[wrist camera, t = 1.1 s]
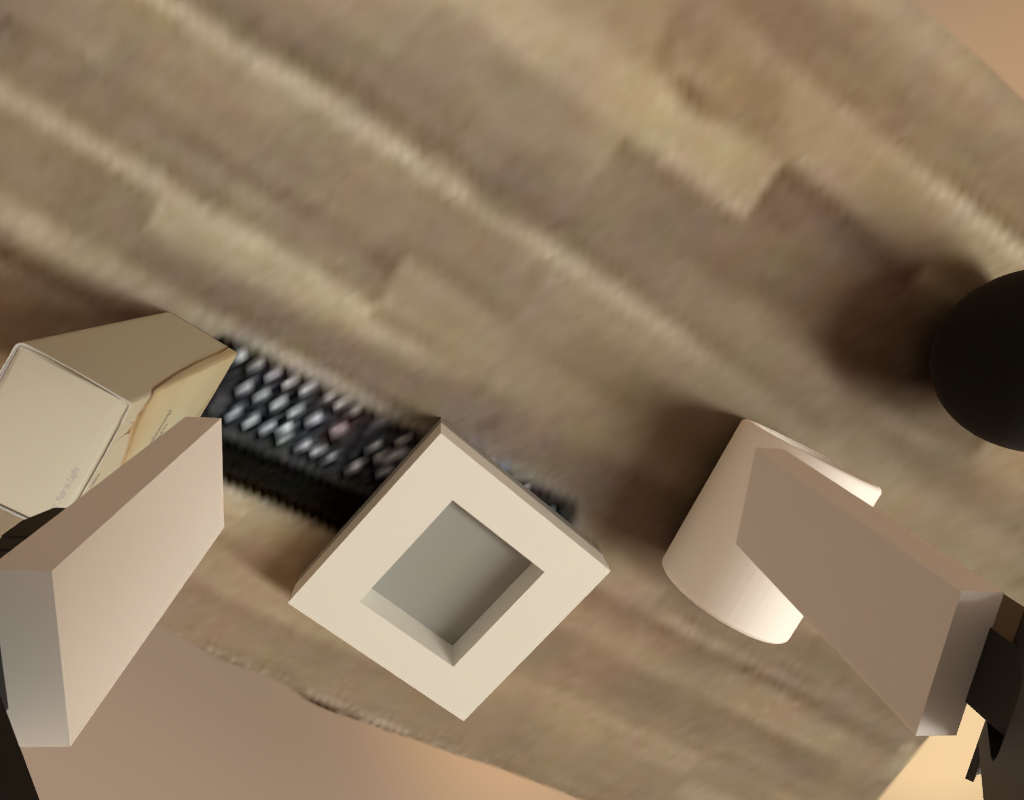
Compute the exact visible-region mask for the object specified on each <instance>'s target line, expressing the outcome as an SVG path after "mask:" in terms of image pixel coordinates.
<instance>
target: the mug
mask: <svg viewBox="0 0 1024 800" xmlns="http://www.w3.org/2000/svg"><path fill="white" fill-rule="evenodd" d="M756 448H775V449H784V450H786V451H787V452H789V453H790V454H792V455H793V456H795V457H797V458H798V459H800V460H801V461H803V462H804V463H806V464H807V465H809V466H810V467H812V468H813V469H815V470H817V471H818V472H820V473H821V474H823V475H824V476H826V477H827V478H829V479H830V480H832V481H834V482H835V483H837V484H838V485H840V486H841V487H843V488H844V489H846V490H847V491H849V492H851V493H852V494H854V495H855V496H857V497H858V498H860V499H861V500H863V501H864V502H866V503H868V504H869V505H871V506H872V507H873V506H874V504H875V503H876V501H877V499H878V498H879V496H880V495H881V489H880V487H879V486H877V485H876V484H874V483H873V482H871V481H869V480H868V479H866V478H864V477H862V476H861V475H859V474H857V473H855V472H854V471H852V470H850V469H848V468H846V467H844V466H843V465H841V464H839V463H837V462H835V461H833V460H831V459H829V458H828V457H826V456H824V455H822V454H820V453H818V452H816V451H814V450H812V449H810V448H808V447H806V446H804V445H802V444H800V443H798V442H796V441H794V440H792V439H790V438H788V437H786V436H784V435H782V434H780V433H778V432H776V431H774V430H772V429H770V428H768V427H766V426H763V425H761V424H759V423H757V422H754V421H752V420H749V419H743V420H742V421H741V422H740V424H739V426H738V428H737V429H736V431H735V433H734V435H733V436H732V438H731V440H730V442H729V443H728V445H727V447H726V449H725V450H724V452H723V454H722V456H721V457H720V459H719V461H718V463H717V464H716V466H715V468H714V469H713V471H712V473H711V475H710V476H709V478H708V480H707V482H706V483H705V485H704V487H703V489H702V490H701V492H700V494H699V496H698V497H697V499H696V501H695V503H694V504H693V506H692V508H691V510H690V511H689V513H688V515H687V517H686V518H685V520H684V522H683V524H682V525H681V527H680V529H679V531H678V532H677V534H676V536H675V538H674V539H673V541H672V543H671V545H670V546H669V548H668V550H667V552H666V553H665V555H664V557H663V559H662V565H663V568H664V571H665V573H666V574H667V576H668V577H669V579H670V580H671V581H672V582H673V583H674V585H675V586H676V587H677V588H678V589H679V590H680V591H681V592H682V593H683V594H684V595H686V596H687V597H688V598H689V599H690V600H691V601H693V602H694V603H695V604H696V605H698V606H699V607H700V608H702V609H703V610H704V611H706V612H707V613H709V614H710V615H712V616H713V617H715V618H716V619H718V620H719V621H721V622H723V623H724V624H726V625H728V626H729V627H731V628H733V629H735V630H737V631H739V632H741V633H743V634H745V635H747V636H750V637H752V638H755V639H757V640H760V641H763V642H767V643H773V644H781V643H784V642H786V641H788V640H789V638H790V637H791V635H792V634H793V632H794V630H795V629H796V627H797V626H798V624H799V623H800V621H801V619H802V618H803V615H802V614H801V613H800V612H799V611H798V610H797V609H796V608H795V607H794V605H793V604H792V603H791V602H790V601H789V600H788V599H787V598H786V597H785V596H784V595H783V594H782V593H781V592H780V590H779V589H778V588H777V587H776V586H775V585H774V584H773V583H772V582H771V581H770V580H769V579H768V578H767V577H766V576H765V574H764V573H763V572H762V571H761V570H760V569H759V568H758V567H757V566H756V565H755V564H754V563H753V562H752V561H751V560H750V558H749V557H748V556H747V555H746V554H745V553H744V552H743V551H742V550H741V549H740V548H739V547H738V546H737V545H736V541H737V536H738V531H739V526H740V521H741V516H742V512H743V507H744V502H745V497H746V492H747V487H748V483H749V478H750V473H751V468H752V463H753V458H754V454H755V449H756Z"/></svg>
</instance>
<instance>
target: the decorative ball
mask: <svg viewBox="0 0 1024 800" xmlns="http://www.w3.org/2000/svg"><path fill="white" fill-rule="evenodd" d="M929 365H930V375H931V380H932V384H933V387H934V390H935V392H936V394H937V397H938V399H939V400H940V402H941V404H942V405H943V407H944V408H945V409H946V411H947V412H948V413H949V414H950V415H951V416H952V418H954V419H955V420H956V421H957V422H958V423H959V424H960V425H961V426H962V427H964V428H965V429H967V430H968V431H970V432H971V433H973V434H974V435H976V436H978V437H980V438H982V439H984V440H986V441H988V442H990V443H993V444H996V445H998V446H1001V447H1005V448H1008V449H1012V450H1017V451H1022V452H1024V270H1021V271H1017V272H1013V273H1010V274H1007V275H1004V276H1001V277H999V278H996V279H994V280H992V281H990V282H988V283H986V284H984V285H982V286H980V287H978V288H977V289H975V290H974V291H972V292H971V293H969V294H968V295H967V296H966V297H964V298H963V299H962V300H961V301H960V302H958V303H957V304H956V305H955V307H954V308H953V309H952V310H951V311H950V312H949V313H948V315H947V316H946V317H945V319H944V320H943V322H942V323H941V325H940V327H939V328H938V330H937V332H936V335H935V337H934V340H933V343H932V347H931V352H930V364H929Z"/></svg>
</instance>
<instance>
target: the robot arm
mask: <svg viewBox="0 0 1024 800" xmlns="http://www.w3.org/2000/svg"><path fill="white" fill-rule="evenodd" d="M223 528H224V510H223V471H222V432H221V418H205V417H187V416H186V417H184V418H183V419H182V420H181V421H179V422H178V423H177V424H175V425H174V426H173V427H171V428H170V429H169V430H168V431H166V432H165V433H164V434H162V435H161V436H160V437H158V438H157V439H156V440H154V441H153V442H152V443H151V444H149V445H148V446H147V447H145V448H144V449H143V450H141V451H140V452H139V453H138V454H136V455H135V456H134V457H132V458H131V459H130V460H128V461H127V462H126V463H124V464H123V465H122V466H121V467H119V468H118V469H117V470H115V471H114V472H113V473H111V474H110V475H109V476H107V477H106V478H105V479H104V480H102V481H101V482H100V483H98V484H97V485H96V486H94V487H93V488H92V489H91V490H89V491H88V492H87V493H85V494H84V495H83V496H81V497H80V498H79V499H77V500H76V501H75V502H74V503H72V504H71V505H70V506H68V507H67V508H52V509H49V510H47V511H44V512H42V513H39V514H37V515H34V516H32V517H30V518H27V519H25V520H23V521H21V522H20V523H18V524H17V525H16V526H14V527H13V528H11V529H10V530H9V531H7V532H6V533H4V534H3V535H2V537H1V539H0V800H39V798H38V795H37V792H36V790H35V787H34V784H33V782H32V779H31V776H30V773H29V771H28V768H27V765H26V763H25V760H24V757H23V755H22V752H21V749H20V747H66V746H67V747H68V746H69V747H70V746H71V745H72V743H73V742H74V741H75V739H76V738H77V736H78V735H79V733H80V732H81V731H82V729H83V728H84V726H85V725H86V723H87V722H88V721H89V719H90V718H91V716H92V715H93V713H94V712H95V710H96V709H97V707H98V706H99V705H100V703H101V702H102V701H103V699H104V698H105V696H106V695H107V693H108V692H109V691H110V689H111V687H112V686H113V685H114V683H115V682H116V681H117V679H118V678H119V676H120V675H121V674H122V672H123V671H124V669H125V668H126V666H127V665H128V664H129V662H130V661H131V659H132V658H133V656H134V655H135V654H136V652H137V651H138V649H139V648H140V646H141V645H142V644H143V642H144V641H145V639H146V638H147V636H148V635H149V633H150V632H151V631H152V629H153V628H154V626H155V625H156V624H157V622H158V621H159V619H160V618H161V616H162V615H163V614H164V612H165V611H166V609H167V608H168V607H169V605H170V604H171V602H172V601H173V599H174V598H175V597H176V595H177V594H178V592H179V591H180V589H181V588H182V587H183V585H184V584H185V582H186V581H187V579H188V578H189V577H190V575H191V574H192V572H193V571H194V569H195V568H196V567H197V565H198V564H199V562H200V561H201V559H202V558H203V557H204V555H205V554H206V552H207V551H208V549H209V548H210V547H211V545H212V544H213V542H214V541H215V539H216V538H217V537H218V535H219V534H220V532H221V531H222V530H223ZM736 545H737V546H738V547H739V548H740V549H741V550H742V551H743V552H744V553H745V554H746V555H747V556H748V557H749V558H750V560H751V561H752V562H753V563H754V564H755V565H756V566H757V567H758V568H759V569H760V570H761V571H762V572H763V573H764V574H765V576H766V577H767V578H768V579H769V580H770V581H771V582H772V583H773V584H774V585H775V586H776V587H777V588H778V589H779V590H780V592H781V593H782V594H783V595H784V596H785V597H786V598H787V599H788V600H789V601H790V602H791V603H792V604H793V605H794V607H795V608H796V609H797V610H798V611H799V612H800V613H801V614H802V615H803V616H804V617H805V618H806V619H807V620H808V621H809V623H810V624H811V625H812V626H813V627H814V628H815V629H816V630H817V631H818V632H819V633H820V634H821V635H822V636H823V637H824V639H825V640H826V641H827V642H828V643H829V644H830V645H831V646H832V647H833V648H834V649H835V650H836V651H837V652H838V653H839V655H840V656H841V657H842V658H843V659H844V660H845V661H846V662H847V663H848V664H849V665H850V666H851V667H852V668H853V670H854V671H855V672H856V673H857V674H858V675H859V676H860V677H861V678H862V679H863V680H864V681H865V682H866V683H867V684H868V686H869V687H870V688H871V689H872V690H873V691H874V692H875V693H876V694H877V695H878V696H879V697H880V698H881V699H882V700H883V702H884V703H885V704H886V705H887V706H888V707H889V708H890V709H891V710H892V711H893V712H894V713H895V714H896V715H897V716H898V718H899V719H900V720H901V721H902V722H903V723H904V724H905V725H906V726H907V727H908V728H909V729H910V730H911V731H912V733H913V734H914V735H915V736H932V735H933V736H934V735H935V736H936V735H956V734H957V731H958V728H959V725H960V722H961V719H962V716H963V713H964V710H965V707H966V704H968V705H970V706H971V707H972V708H973V709H974V710H975V711H976V712H977V713H979V714H980V715H981V716H982V717H983V718H984V719H985V723H984V726H983V729H982V732H981V735H980V738H979V740H978V743H977V746H976V749H975V752H974V755H973V758H972V761H971V763H970V767H969V769H968V772H967V775H966V779H968V780H970V781H972V782H973V781H974V779H975V777H976V775H978V774H981V775H982V787H983V798H984V800H1024V607H1023V606H1021V605H1020V604H1018V603H1017V602H1015V601H1014V600H1012V599H1011V598H1009V597H1008V596H1006V595H1005V594H1004V592H1003V591H1002V590H1000V589H999V588H997V587H996V586H994V585H993V584H991V583H989V582H988V581H986V580H985V579H983V578H982V577H980V576H979V575H977V574H976V573H974V572H972V571H971V570H969V569H968V568H966V567H965V566H963V565H962V564H960V563H959V562H957V561H955V560H954V559H952V558H951V557H949V556H948V555H946V554H945V553H943V552H942V551H940V550H939V549H937V548H935V547H934V546H932V545H931V544H929V543H928V542H926V541H925V540H923V539H922V538H920V537H918V536H917V535H915V534H914V533H912V532H911V531H909V530H908V529H906V528H905V527H903V526H901V525H900V524H898V523H897V522H895V521H894V520H892V519H891V518H889V517H888V516H886V515H884V514H883V513H881V512H880V511H878V510H877V509H875V508H874V507H872V506H871V505H869V504H868V503H866V502H864V501H863V500H861V499H860V498H858V497H857V496H855V495H854V494H852V493H851V492H849V491H847V490H846V489H844V488H843V487H841V486H840V485H838V484H837V483H835V482H834V481H832V480H830V479H829V478H827V477H826V476H824V475H823V474H821V473H820V472H818V471H817V470H815V469H813V468H812V467H810V466H809V465H807V464H806V463H804V462H803V461H801V460H800V459H798V458H797V457H795V456H793V455H792V454H790V453H789V452H787V451H786V450H784V449H775V448H756V449H755V454H754V458H753V463H752V468H751V473H750V478H749V483H748V487H747V492H746V497H745V502H744V507H743V512H742V516H741V521H740V526H739V531H738V536H737V541H736Z"/></svg>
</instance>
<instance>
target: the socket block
mask: <svg viewBox="0 0 1024 800" xmlns="http://www.w3.org/2000/svg"><path fill="white" fill-rule="evenodd" d="M609 572H610V569H609V567H608V565H607V563H606V561H605V559H604V557H603V555H602V553H601V551H600V549H599V547H598V546H597V545H596V544H595V543H593V542H592V541H591V540H590V539H588V538H587V537H586V536H585V535H584V534H582V533H581V532H580V531H579V530H577V529H576V528H575V527H574V526H573V525H571V524H570V523H569V522H568V521H566V520H565V519H564V518H563V517H562V516H560V515H559V514H558V513H557V512H556V511H554V510H553V509H552V508H551V507H549V506H548V505H547V504H546V503H545V502H543V501H542V500H541V499H540V498H538V497H537V496H536V495H535V494H534V493H532V492H531V491H530V490H529V489H527V488H526V487H525V486H524V485H523V484H521V483H520V482H519V481H518V480H516V479H515V478H514V477H513V476H512V475H510V474H509V473H508V472H507V471H505V470H504V469H503V468H502V467H501V466H499V465H498V464H497V463H496V462H495V461H493V460H492V459H491V458H490V457H488V456H487V455H486V454H485V453H484V452H482V451H481V450H480V449H479V448H477V447H476V446H475V445H474V444H473V443H471V442H470V441H469V440H468V439H466V438H465V437H464V436H463V435H462V434H460V433H459V432H458V431H457V430H455V429H454V428H453V427H452V426H451V425H449V424H448V423H447V422H446V421H444V420H443V419H442V418H440V419H439V420H438V422H437V423H436V424H435V425H434V426H433V427H432V428H431V429H430V430H429V432H428V433H427V434H426V435H425V436H424V437H423V438H422V439H421V440H420V442H419V443H418V444H417V445H416V446H415V447H414V448H413V449H412V450H411V452H410V453H409V454H408V455H407V456H406V457H405V458H404V459H403V460H402V462H401V463H400V464H399V465H398V466H397V467H396V468H395V469H394V470H393V472H392V473H391V474H390V475H389V476H388V477H387V478H386V479H385V481H384V482H383V483H382V484H381V485H380V486H379V487H378V488H377V489H376V491H375V492H374V493H373V494H372V495H371V496H370V497H369V498H368V499H367V501H366V502H365V503H364V504H363V505H362V506H361V507H360V508H359V509H358V511H357V512H356V513H355V514H354V515H353V516H352V517H351V518H350V519H349V521H348V522H347V523H346V524H345V525H344V526H343V527H342V528H341V529H340V531H339V532H338V533H337V534H336V535H335V536H334V537H333V538H332V539H331V541H330V542H329V543H328V544H327V545H326V546H325V547H324V548H323V549H322V551H321V552H320V553H319V554H318V555H317V556H316V557H315V558H314V560H313V561H312V562H311V563H310V564H309V565H308V566H307V567H306V568H305V570H304V571H303V572H302V573H301V574H300V575H299V578H298V580H297V582H296V585H295V587H294V589H293V592H292V594H291V596H290V599H289V601H288V603H289V604H290V605H292V606H293V607H295V608H296V609H298V610H299V611H301V612H302V613H304V614H305V615H307V616H308V617H310V618H311V619H312V620H314V621H315V622H317V623H318V624H320V625H321V626H323V627H324V628H326V629H327V630H329V631H330V632H332V633H333V634H335V635H336V636H338V637H339V638H341V639H342V640H344V641H345V642H347V643H348V644H350V645H351V646H353V647H354V648H356V649H357V650H359V651H360V652H362V653H363V654H365V655H366V656H368V657H369V658H371V659H372V660H373V661H375V662H376V663H378V664H379V665H381V666H382V667H384V668H385V669H387V670H388V671H390V672H391V673H393V674H394V675H396V676H397V677H399V678H400V679H402V680H403V681H405V682H406V683H408V684H409V685H411V686H412V687H414V688H415V689H417V690H418V691H420V692H421V693H423V694H424V695H426V696H427V697H429V698H430V699H432V700H433V701H435V702H436V703H437V704H439V705H440V706H442V707H443V708H445V709H446V710H448V711H449V712H451V713H452V714H454V715H455V716H457V717H458V718H460V719H461V720H463V721H464V720H465V719H466V718H467V717H468V716H469V715H470V714H471V713H472V712H473V711H474V710H475V709H476V708H477V707H478V706H479V705H480V704H481V703H482V702H483V701H484V700H485V699H486V698H487V697H488V696H489V695H490V694H491V693H492V692H493V691H494V690H495V689H496V688H497V686H498V685H499V684H500V683H501V682H502V681H503V680H504V679H505V678H506V677H507V676H508V675H509V674H510V673H511V672H512V671H513V670H514V669H515V668H516V667H517V666H518V665H519V664H520V663H521V662H522V661H523V660H524V659H525V658H526V657H527V656H528V655H529V654H530V653H531V652H532V651H533V650H534V649H535V648H536V647H537V646H538V645H539V644H540V643H541V642H542V641H543V640H544V639H545V638H546V636H547V635H548V634H549V633H550V632H551V631H552V630H553V629H554V628H555V627H556V626H557V625H558V624H559V623H560V622H561V621H562V620H563V619H564V618H565V617H566V616H567V615H568V614H569V613H570V612H571V611H572V610H573V609H574V608H575V607H576V606H577V605H578V604H579V603H580V602H581V601H582V600H583V599H584V598H585V597H586V596H587V595H588V594H589V593H590V592H591V591H592V590H593V589H594V588H595V586H596V585H597V584H598V583H599V582H600V581H601V580H602V579H603V578H604V577H605V576H606V575H607V574H608V573H609Z"/></svg>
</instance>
